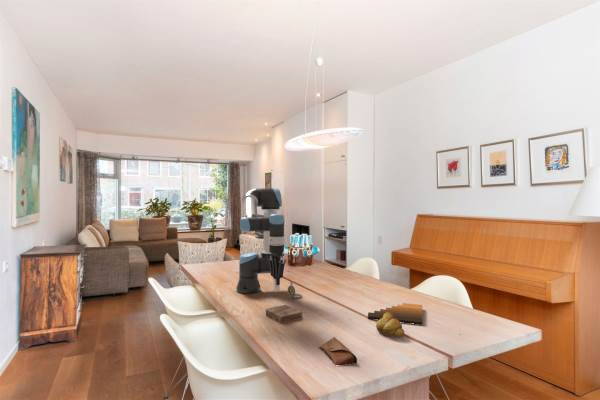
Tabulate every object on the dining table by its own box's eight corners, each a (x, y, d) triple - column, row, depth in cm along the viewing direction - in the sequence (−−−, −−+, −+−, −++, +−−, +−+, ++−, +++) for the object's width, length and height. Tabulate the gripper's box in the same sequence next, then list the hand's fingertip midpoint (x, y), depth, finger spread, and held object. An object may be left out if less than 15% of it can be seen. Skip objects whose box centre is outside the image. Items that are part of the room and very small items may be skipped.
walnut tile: (265, 309, 173) (281, 317, 162) (285, 304, 180) (302, 311, 169) (265, 316, 173) (281, 324, 162) (285, 311, 180) (301, 319, 169)
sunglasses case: (316, 346, 137) (324, 330, 138) (330, 353, 139) (337, 337, 140) (336, 367, 120) (345, 349, 121) (351, 374, 122) (360, 357, 123)
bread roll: (409, 337, 146) (409, 319, 146) (391, 341, 142) (391, 322, 142) (389, 327, 158) (389, 310, 158) (371, 331, 154) (372, 312, 154)
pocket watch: (303, 296, 207) (303, 279, 207) (298, 300, 199) (298, 282, 199) (290, 295, 210) (290, 278, 210) (285, 298, 202) (285, 281, 202)
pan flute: (367, 320, 168) (422, 326, 160) (367, 313, 168) (422, 319, 160) (374, 305, 192) (422, 310, 183) (374, 299, 192) (422, 304, 183)
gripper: (263, 243, 179) (263, 289, 179) (277, 246, 168) (277, 295, 169) (275, 242, 183) (275, 287, 184) (290, 245, 173) (290, 292, 173)
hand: (276, 290), depth 176 cm, fingers closed
